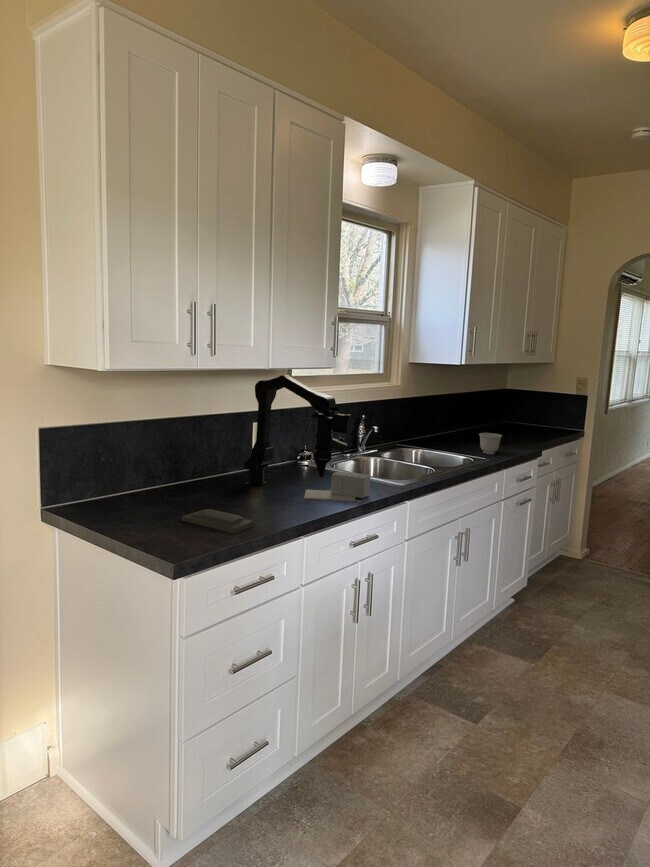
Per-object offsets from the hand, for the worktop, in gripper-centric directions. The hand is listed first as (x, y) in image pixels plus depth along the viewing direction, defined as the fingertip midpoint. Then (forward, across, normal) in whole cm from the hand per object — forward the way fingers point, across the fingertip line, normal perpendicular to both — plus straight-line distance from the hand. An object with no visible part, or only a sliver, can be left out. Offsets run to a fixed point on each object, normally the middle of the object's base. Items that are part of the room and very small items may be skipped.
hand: (321, 474), depth 234 cm
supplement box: (+4, +5, -4) cm, 8 cm away
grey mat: (+8, 0, -3) cm, 8 cm away
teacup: (+8, +111, -85) cm, 140 cm away
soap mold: (+9, -40, +30) cm, 51 cm away
